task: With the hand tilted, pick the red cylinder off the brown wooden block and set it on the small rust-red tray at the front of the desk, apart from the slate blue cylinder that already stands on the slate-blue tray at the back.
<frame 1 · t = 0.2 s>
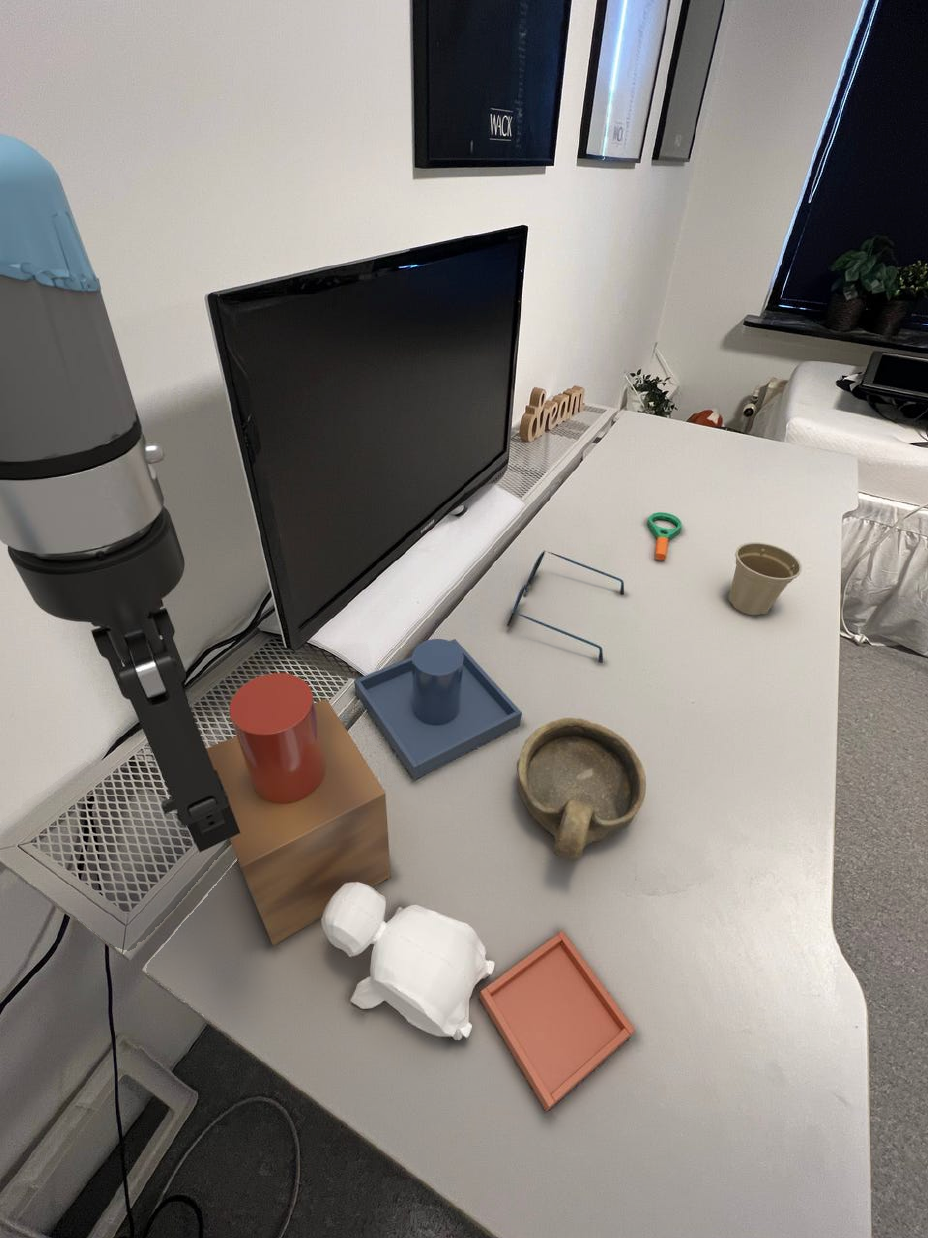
hand: (192, 765, 44), 20 cm above the table, tool pointing down, fingers open, 13 cm apart
flower pot: (747, 604, 95), on the table
sunglasses: (566, 613, 91), on the table
red tray: (553, 1016, 51), on the table
white turtle figurine: (405, 970, 53), on the table
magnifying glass: (661, 539, 108), on the table
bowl: (569, 813, 65), on the table
red cylinder: (288, 772, 50), point 15 cm above the table, touching brown wooden block
slate blue cylinder: (436, 706, 75), resting on blue tray
blue tray: (436, 709, 75), on the table
brown wooden block: (310, 858, 60), on the table
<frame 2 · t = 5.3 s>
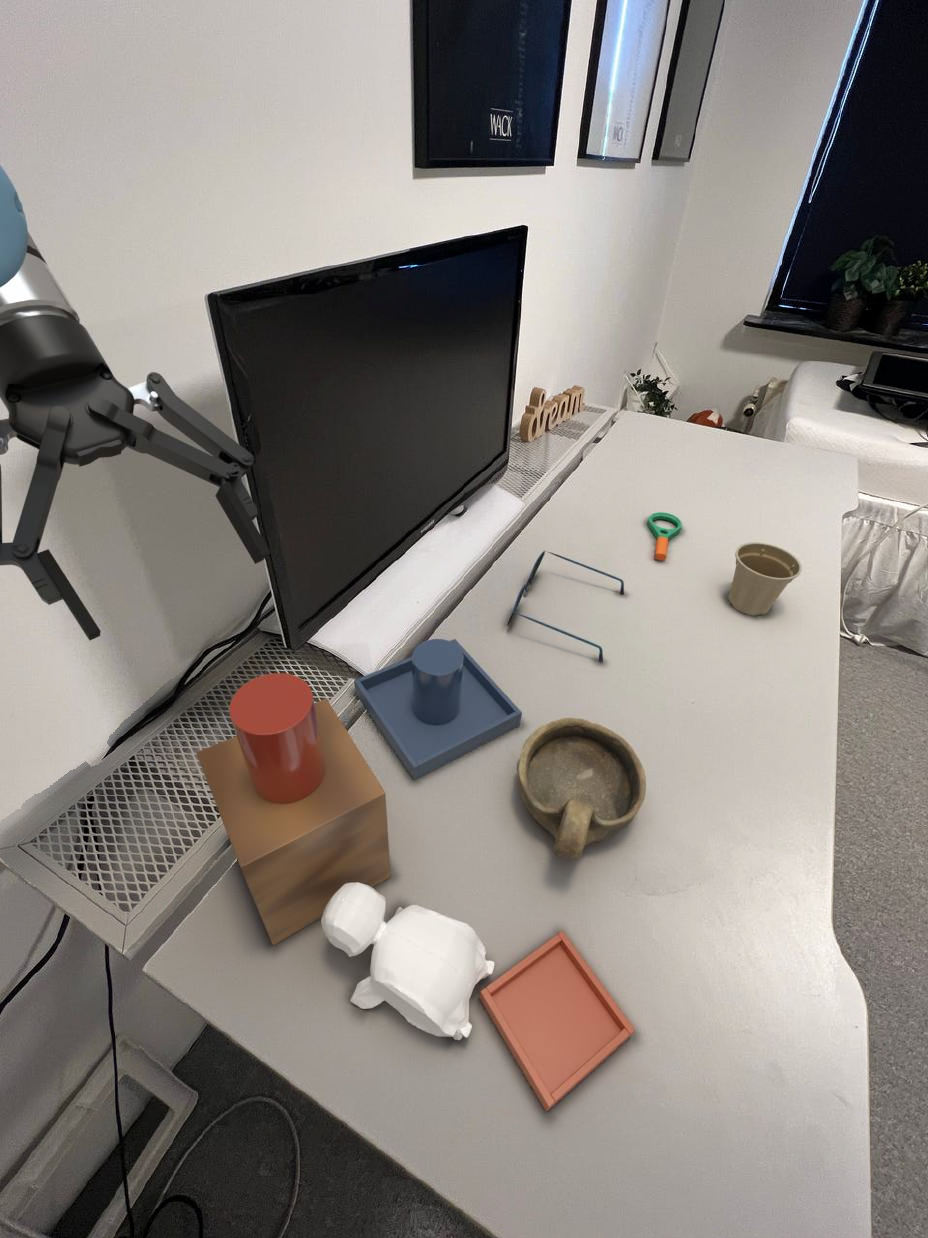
hand: (185, 594, 46), 28 cm above the table, tool tilted 45°, fingers open, 13 cm apart
nothing on the table moved.
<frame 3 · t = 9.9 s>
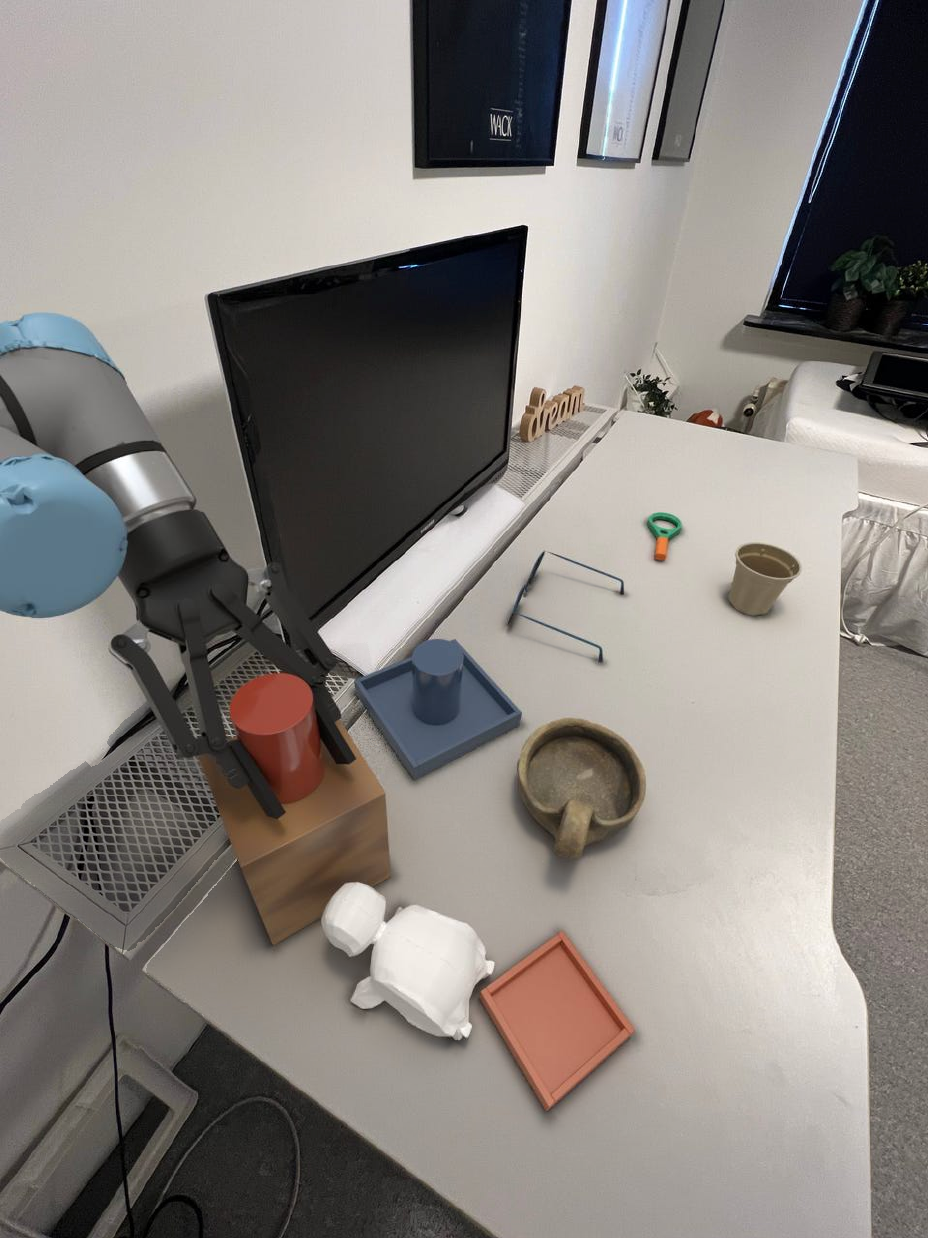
hand: (312, 786, 47), 17 cm above the table, tool tilted 45°, fingers closed on red cylinder, 6 cm apart
red cylinder: (288, 772, 50), point 15 cm above the table, touching brown wooden block, gripper
everything else where it was.
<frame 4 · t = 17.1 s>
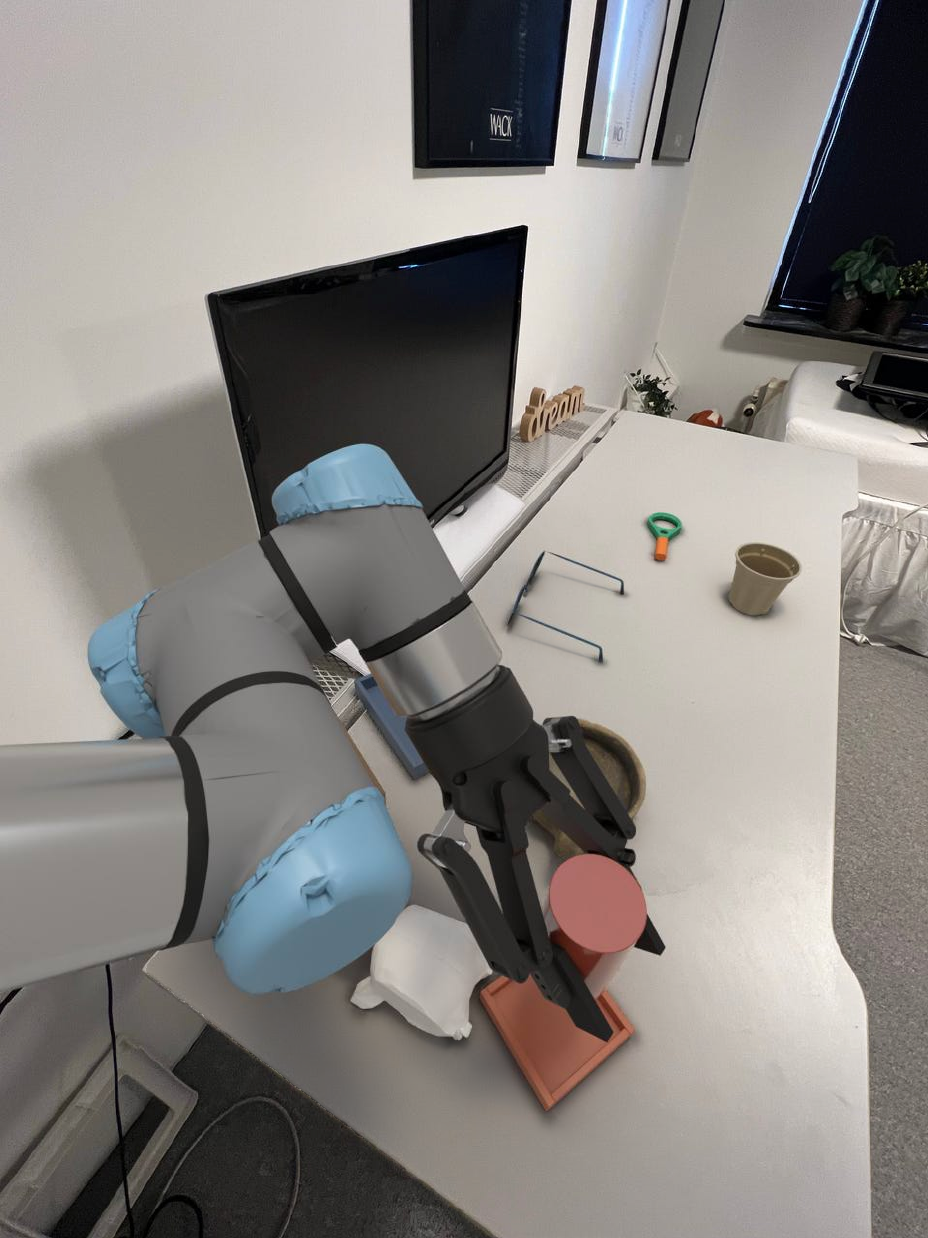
hand: (621, 985, 39), 15 cm above the table, tool tilted 45°, fingers closed on red cylinder, 6 cm apart
red cylinder: (572, 954, 42), point 13 cm above the table, touching gripper
everything else where it was.
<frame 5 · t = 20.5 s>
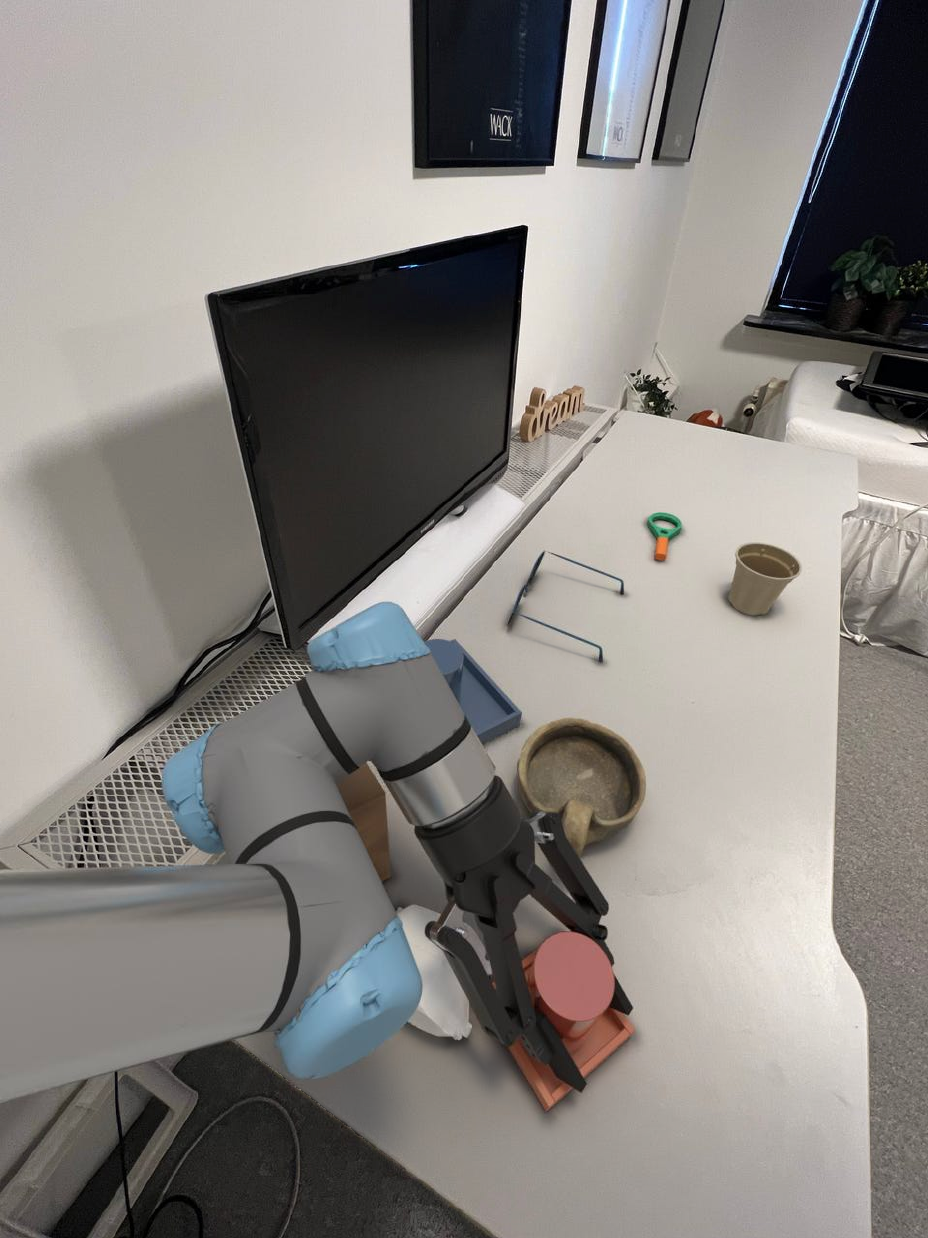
hand: (595, 1041, 47), 3 cm above the table, tool tilted 45°, fingers closed on red cylinder, 6 cm apart
red cylinder: (554, 1012, 50), point 1 cm above the table, touching gripper
everything else where it was.
when the fingers open (3 cm above the table, at t = 24.6 s): red cylinder stays where it is, resting on red tray.
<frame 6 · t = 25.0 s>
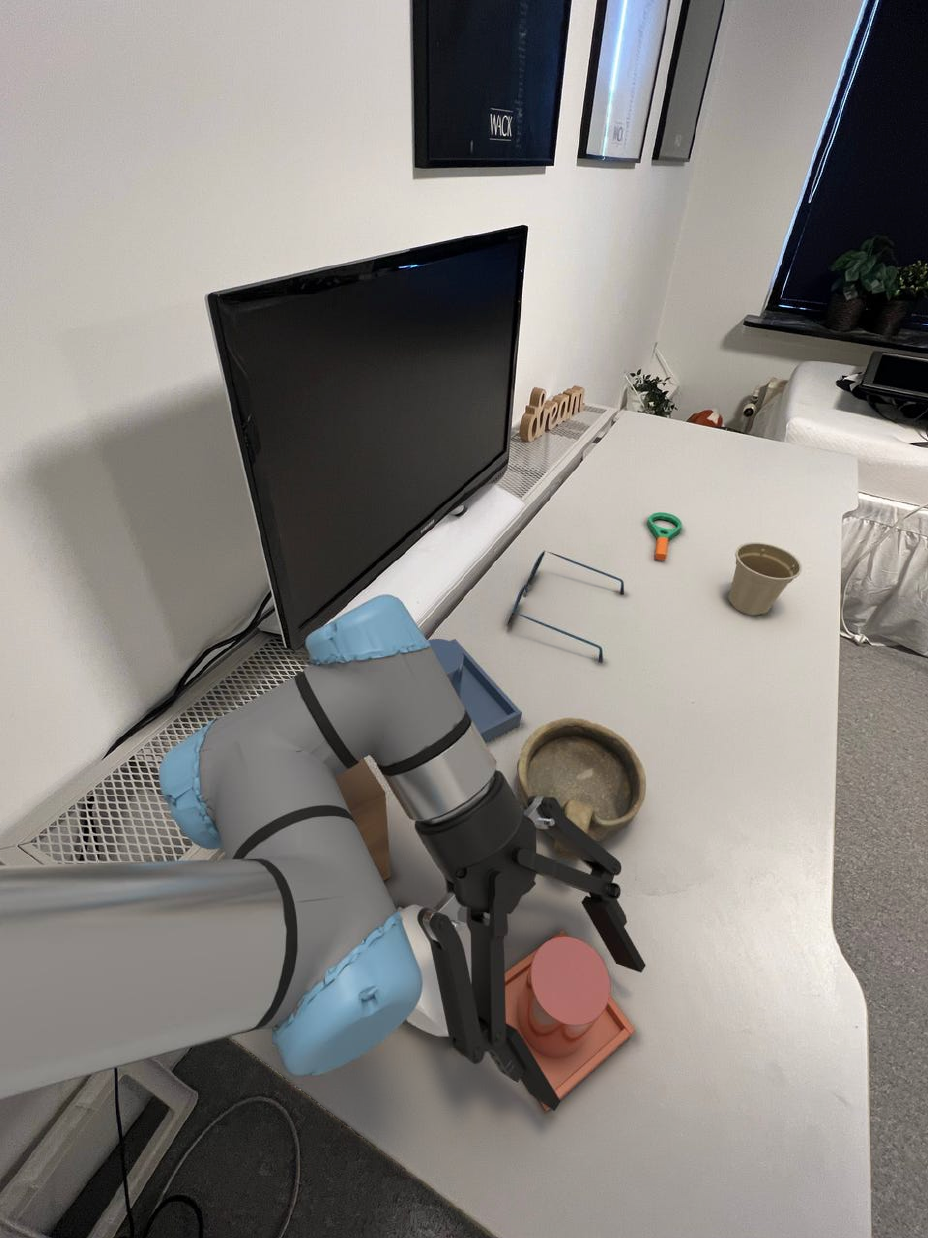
hand: (591, 1026, 46), 5 cm above the table, tool tilted 45°, fingers open, 11 cm apart
red cylinder: (552, 1015, 50), point 1 cm above the table, touching red tray
everything else where it was.
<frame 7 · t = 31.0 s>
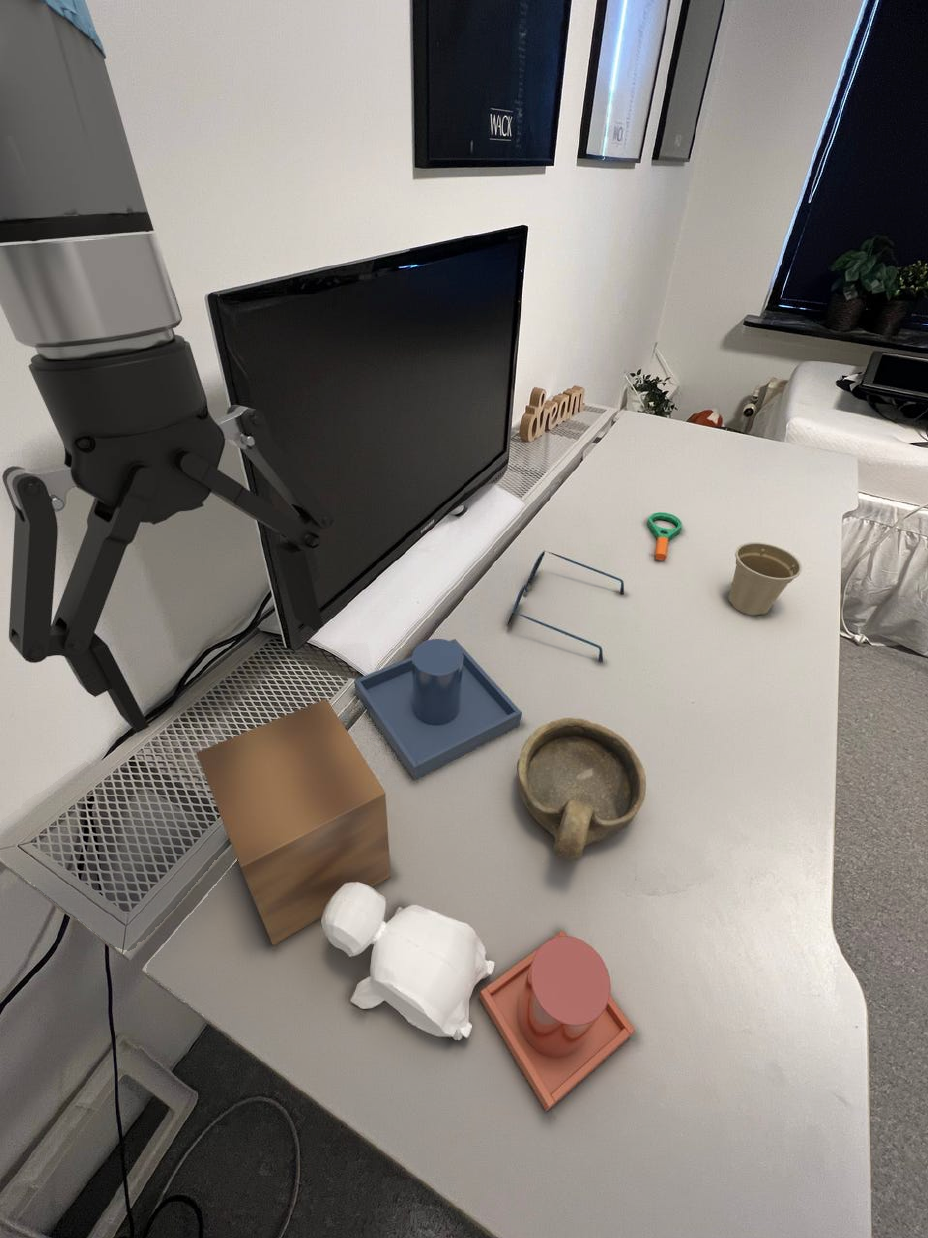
hand: (230, 667, 42), 27 cm above the table, tool pointing down, fingers open, 13 cm apart
nothing on the table moved.
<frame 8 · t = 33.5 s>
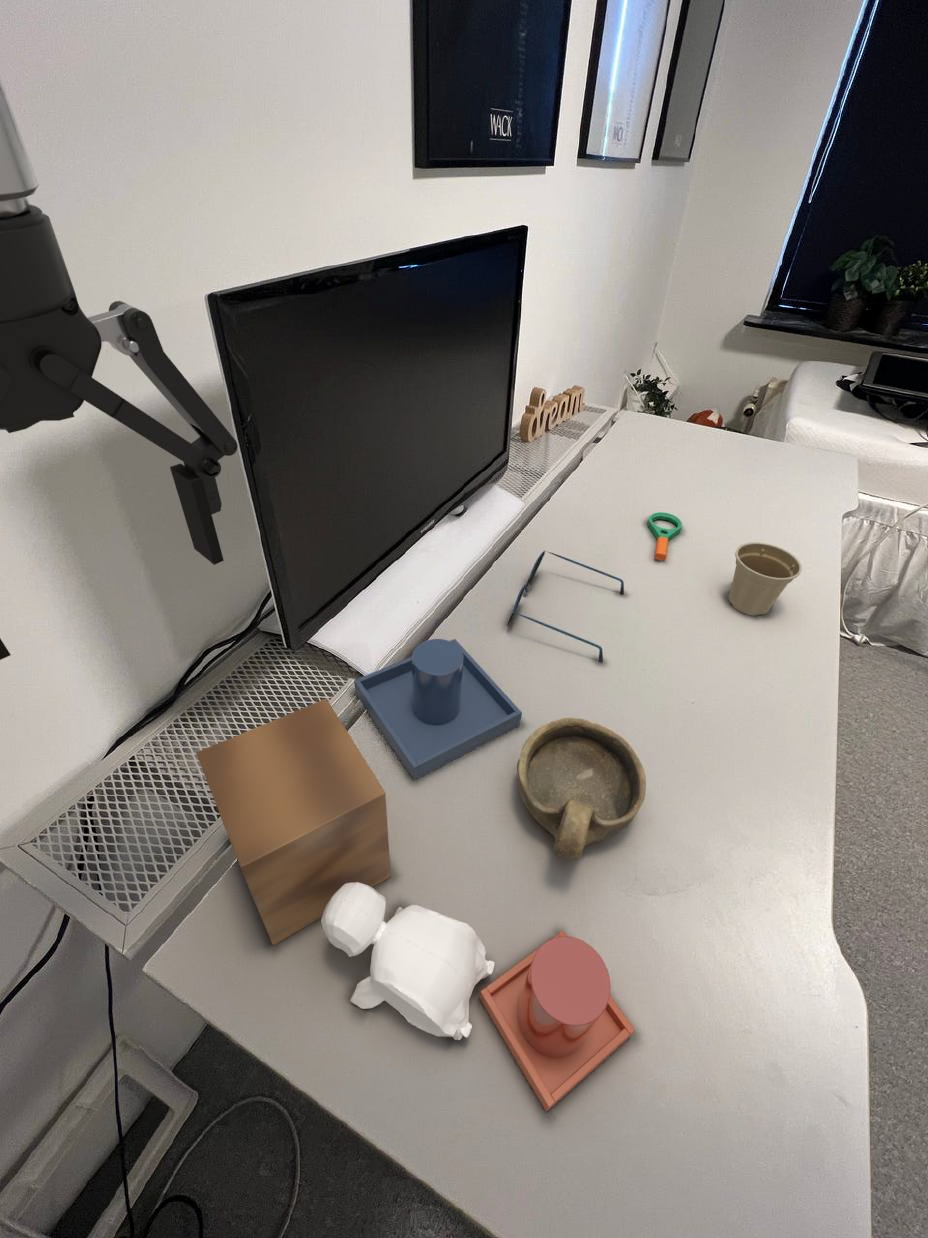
hand: (113, 596, 39), 33 cm above the table, tool pointing down, fingers open, 13 cm apart
nothing on the table moved.
at the end: red cylinder 0.2 cm off-centre in the red tray, point 0.5 cm above the red tray's base; red cylinder tilted 0°; red cylinder touching red tray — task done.
